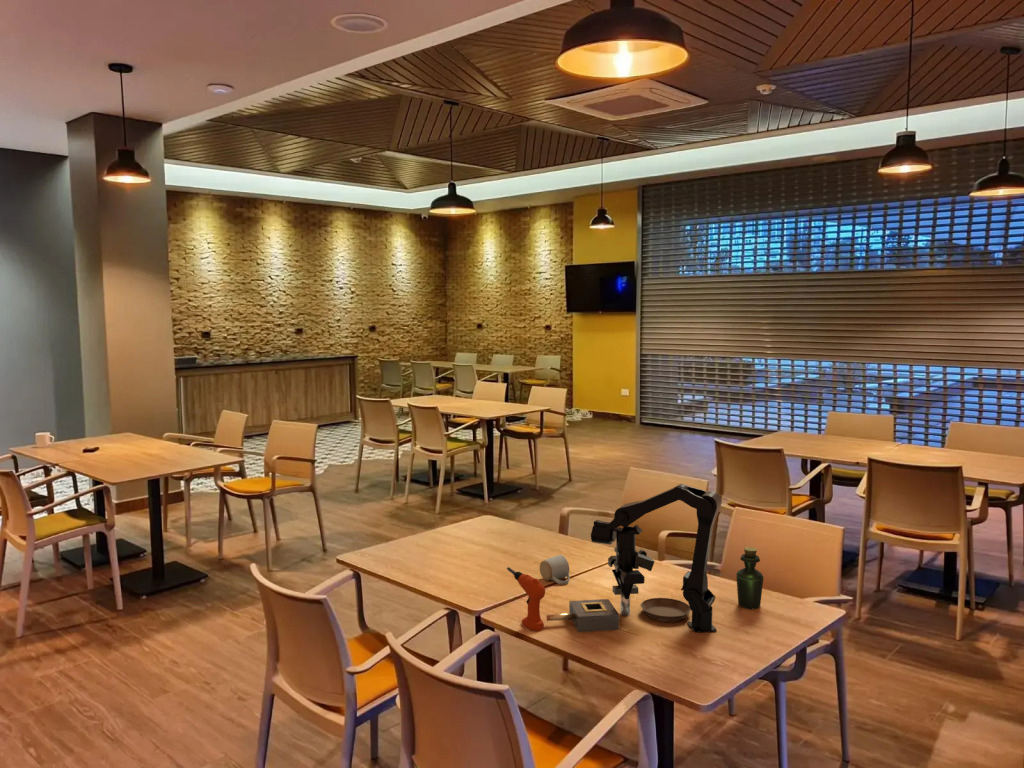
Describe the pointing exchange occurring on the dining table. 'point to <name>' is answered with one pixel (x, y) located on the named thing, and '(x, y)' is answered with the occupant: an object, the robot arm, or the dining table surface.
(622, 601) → the block
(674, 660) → the dining table surface
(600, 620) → the block
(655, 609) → the saucer
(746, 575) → the potion bottle
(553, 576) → the ceramic mug
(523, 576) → the toy drill
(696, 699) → the dining table surface
